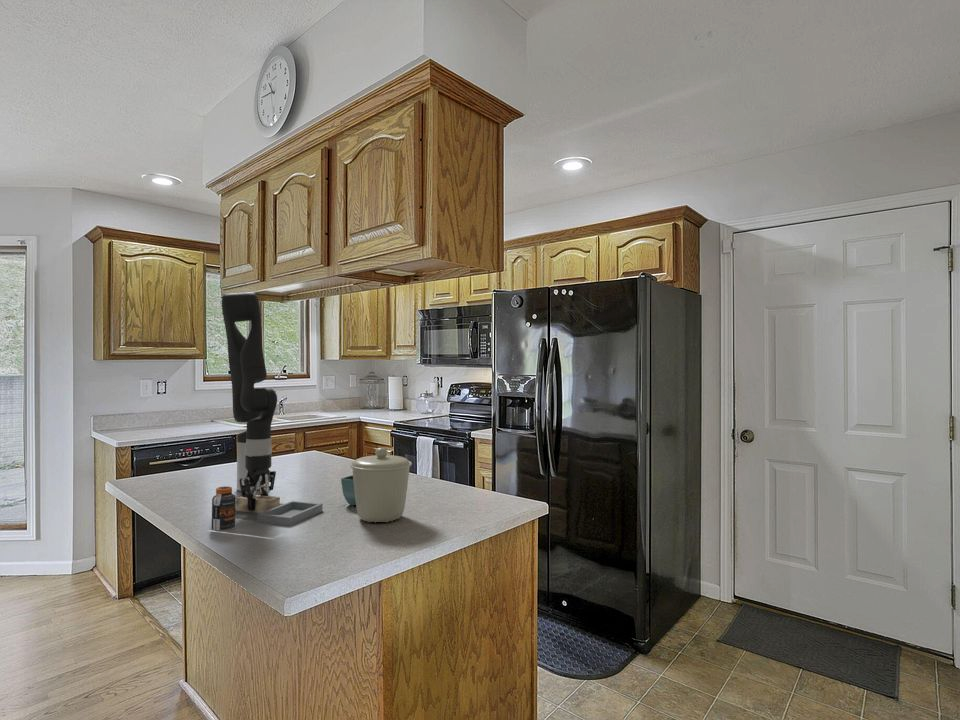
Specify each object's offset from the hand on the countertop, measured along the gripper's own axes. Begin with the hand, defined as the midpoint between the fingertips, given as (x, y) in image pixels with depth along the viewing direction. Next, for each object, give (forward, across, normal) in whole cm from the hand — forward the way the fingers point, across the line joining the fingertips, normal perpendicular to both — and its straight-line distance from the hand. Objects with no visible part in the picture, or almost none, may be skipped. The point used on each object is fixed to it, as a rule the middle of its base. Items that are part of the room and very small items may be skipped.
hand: (257, 507), depth 170 cm
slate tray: (+1, +2, +14) cm, 14 cm away
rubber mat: (+1, 0, 0) cm, 1 cm away
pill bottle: (+1, +17, +2) cm, 17 cm away
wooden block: (+1, 0, 0) cm, 1 cm away
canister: (+1, -6, +39) cm, 39 cm away
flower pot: (+1, -18, +25) cm, 31 cm away
